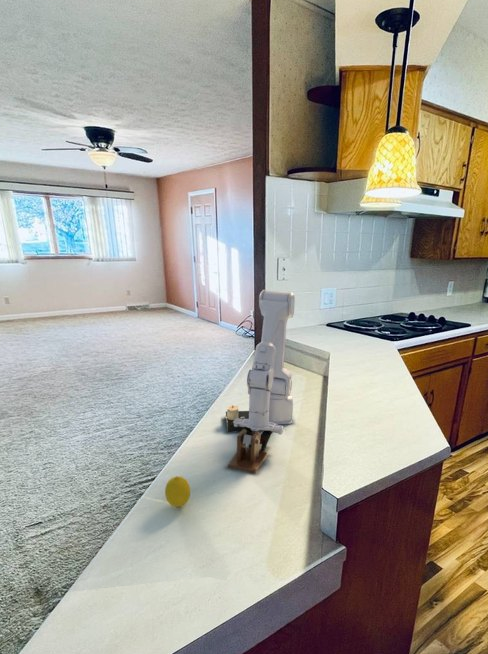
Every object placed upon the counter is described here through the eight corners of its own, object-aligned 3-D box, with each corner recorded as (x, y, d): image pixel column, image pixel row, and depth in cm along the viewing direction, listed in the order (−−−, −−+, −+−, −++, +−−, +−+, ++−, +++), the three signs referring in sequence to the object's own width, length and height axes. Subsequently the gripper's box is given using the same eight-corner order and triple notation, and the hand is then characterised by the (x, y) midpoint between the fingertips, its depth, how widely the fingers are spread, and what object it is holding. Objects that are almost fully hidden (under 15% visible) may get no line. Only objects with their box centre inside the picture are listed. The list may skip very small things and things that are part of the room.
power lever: (253, 444, 122) (255, 434, 122) (263, 445, 121) (265, 435, 122) (240, 444, 110) (242, 433, 111) (251, 446, 110) (253, 435, 110)
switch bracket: (241, 451, 120) (241, 423, 116) (267, 456, 118) (268, 428, 115) (227, 468, 111) (227, 439, 107) (255, 473, 109) (256, 444, 106)
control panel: (257, 417, 142) (257, 410, 141) (262, 431, 132) (262, 423, 131) (220, 418, 140) (220, 411, 139) (221, 432, 130) (221, 425, 129)
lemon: (184, 515, 91) (183, 485, 88) (161, 511, 92) (159, 481, 89) (194, 501, 96) (193, 472, 93) (172, 497, 97) (171, 468, 94)
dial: (238, 420, 133) (239, 409, 132) (227, 420, 132) (227, 409, 131) (237, 415, 136) (238, 404, 135) (226, 415, 136) (227, 405, 134)
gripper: (230, 410, 115) (229, 453, 120) (279, 418, 112) (277, 462, 117) (239, 401, 121) (238, 442, 126) (286, 409, 118) (283, 451, 123)
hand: (257, 451), depth 122 cm, fingers closed on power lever, 3 cm apart
